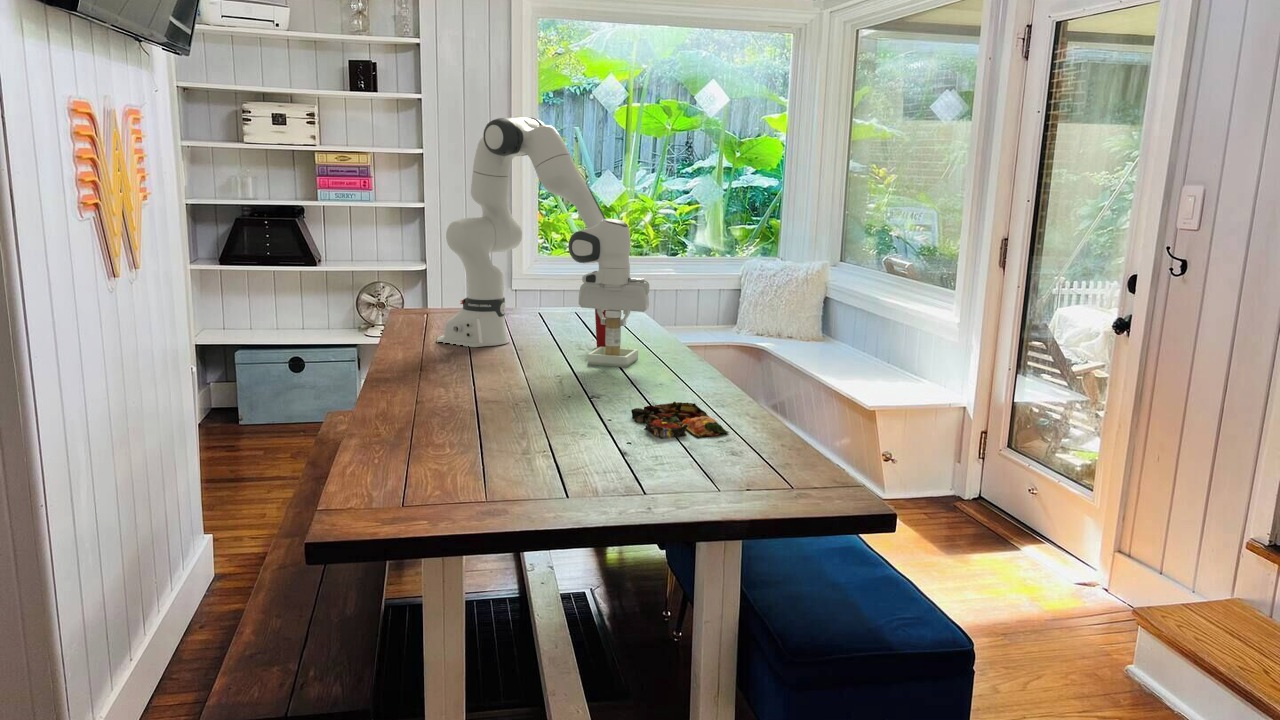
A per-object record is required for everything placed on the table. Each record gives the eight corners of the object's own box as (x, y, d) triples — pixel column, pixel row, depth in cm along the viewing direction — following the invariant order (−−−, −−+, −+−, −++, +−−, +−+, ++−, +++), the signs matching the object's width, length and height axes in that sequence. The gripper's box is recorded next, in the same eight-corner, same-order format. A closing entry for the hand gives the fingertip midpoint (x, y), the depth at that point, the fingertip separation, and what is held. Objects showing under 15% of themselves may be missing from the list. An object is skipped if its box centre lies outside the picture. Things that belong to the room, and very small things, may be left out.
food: (621, 416, 212) (622, 401, 211) (696, 412, 219) (697, 397, 218) (655, 444, 192) (656, 428, 191) (736, 438, 198) (737, 422, 198)
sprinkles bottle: (616, 354, 269) (617, 308, 266) (623, 357, 265) (624, 311, 262) (602, 355, 267) (602, 309, 264) (608, 358, 263) (609, 311, 261)
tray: (587, 364, 263) (587, 354, 262) (600, 356, 274) (600, 346, 273) (626, 367, 260) (626, 357, 259) (637, 359, 271) (638, 349, 270)
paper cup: (617, 351, 282) (618, 305, 279) (592, 350, 282) (593, 305, 279) (618, 346, 290) (619, 301, 287) (594, 345, 290) (594, 301, 287)
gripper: (652, 277, 262) (651, 325, 265) (584, 273, 267) (583, 320, 270) (646, 280, 256) (645, 329, 259) (576, 276, 261) (576, 324, 264)
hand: (613, 325), depth 264 cm, fingers closed on sprinkles bottle, 4 cm apart
